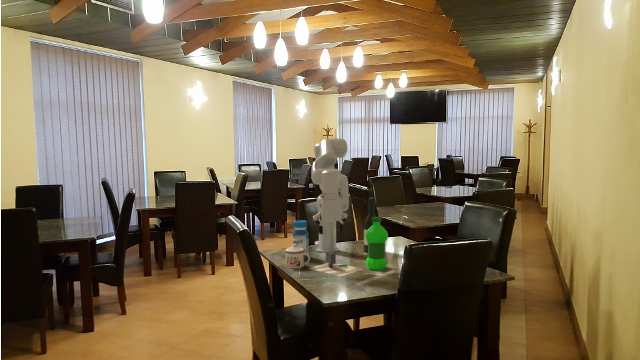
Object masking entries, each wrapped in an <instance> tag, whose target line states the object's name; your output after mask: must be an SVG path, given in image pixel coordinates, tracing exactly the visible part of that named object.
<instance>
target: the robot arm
mask: <svg viewBox="0 0 640 360" xmlns="http://www.w3.org/2000/svg"><path fill="white" fill-rule="evenodd" d="M313 152H314V157H315V160H314V161H313V163H312V165H311V182H312V183H313V184H314V185H319V188H320V190H321V194H319V195H318V197H317V199H316V204H317V213H316V214H315V215H313V216H312V219H313V221H314V223H315V224H316V225H317V226H318V227H317V230H318V240H316V241H315V242H314V245H315V246H317V247H316V248H315V250H316V251H317V252H319V253H323V254H324V253H325V254H326V252H329V251H331V252H333V253H336V252H339V250H340V248H339V247H338V246H337V232H338V233H343V225H344V223H345V221H347V217H348V215H349V214H348V213H346V212H345V211H347V210H348V209H349V207H350V206H349V205H350V203H349V202H350V200H349V199H350V198H349V181H348V177H347V175H345V174H342V172H341V171H340V170H339V169H338V168H335V164H336V163H337V160H338V159H344V158H345V157H346V155H347V153H348V142H347V140H345V139H344V138H324V139H322V140H321V141H320V142H319V143H318V142H317V143H316V144H315V145H314V147H313ZM337 222H338V223H337Z"/></svg>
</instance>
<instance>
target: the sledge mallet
mask: <svg viewBox="0 0 640 360" xmlns="http://www.w3.org/2000/svg"><path fill="white" fill-rule="evenodd" d="M336 257H337V256H336V253H335V252H331V251H329V252H326V253H325V263H329V268H333V267H337V266H346V265H347V266H348V263H347V264H346V263H344V264H343V263H342V264H343V265H335V266H333V264H336V263H337V260H336Z"/></svg>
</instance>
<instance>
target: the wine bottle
mask: <svg viewBox="0 0 640 360" xmlns="http://www.w3.org/2000/svg"><path fill="white" fill-rule="evenodd" d="M367 201H368V202H367V203H368V205H367V207H368V208H367V209H368V212H367V216H366V218H364V221H363V252H364V253H367V254H368V241H367V240H366V238H365V233H366V231H367V230H368V229H369V228H370V227H371V226H372V225H373V222H372V217H377V216H376V213H375V209H376V208H375V206H376V205H375V204H376V203H375V198H374V197H373V196H372V197H371V196H369V198H368V199H367Z"/></svg>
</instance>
